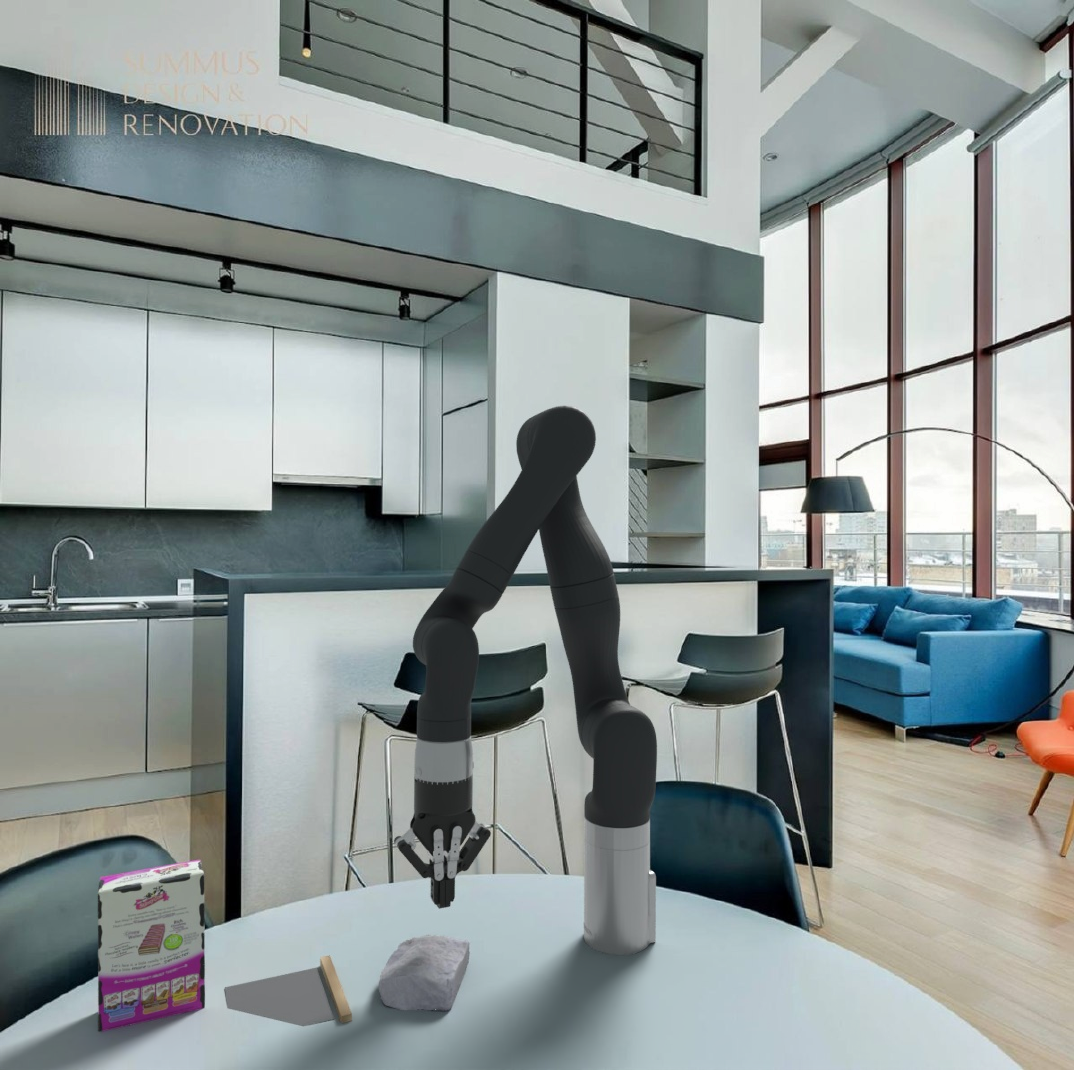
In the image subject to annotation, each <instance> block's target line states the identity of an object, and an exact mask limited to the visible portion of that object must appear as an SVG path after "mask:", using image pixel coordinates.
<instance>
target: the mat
mask: <svg viewBox="0 0 1074 1070" xmlns="http://www.w3.org/2000/svg"><path fill="white" fill-rule="evenodd" d="M224 992H225V1001H226V1009H229V1010H233V1011H237V1012H241V1013H246V1014H249V1015H252V1016H253V1015H254V1016H258V1017H261V1018H267V1019H271V1020H274V1021H278V1022H283V1023H286V1024H291V1025H296V1026H298V1027H299V1026H300V1027H307V1026H311V1025H316V1024H317V1025H318V1024H321V1023H325V1022H329V1021H334V1020H335V1017H334V1014H333V1012H332V1008H331V1006H330V1002H329V999H328V996H327V993H326V990H325V987H324V985H323V982H322V979H321V976H320V972H319V969H318V967H313V968H309V969H305V970H299V971H293V972H290V973H284V974H281V975H276V976H271V977H266V978H263V979H262V978H261V979H258V980H253V981H252V980H251V981H248V982H244V983H239V984H234V985H231V986H230V985H229V986H226V987H224Z"/></svg>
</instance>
